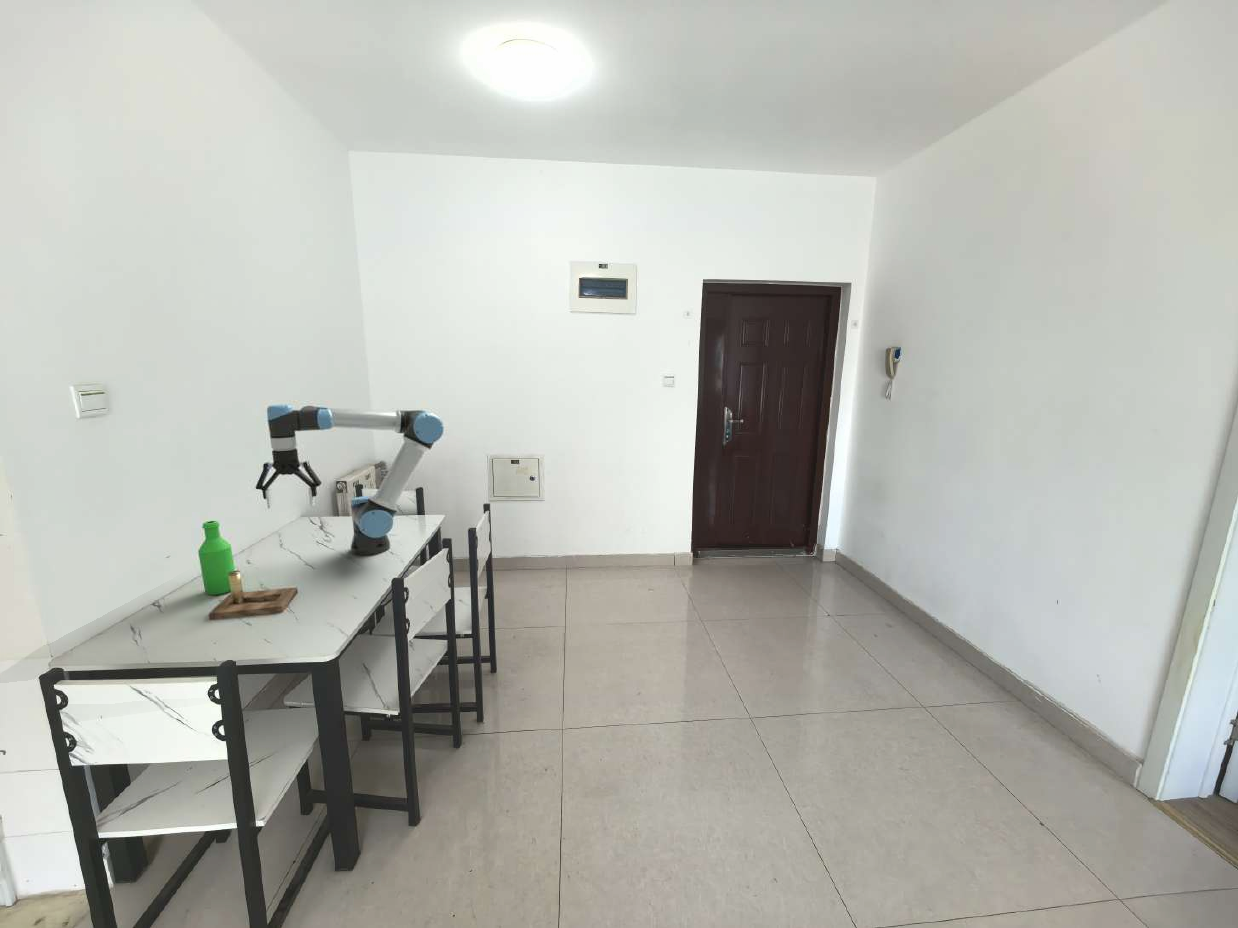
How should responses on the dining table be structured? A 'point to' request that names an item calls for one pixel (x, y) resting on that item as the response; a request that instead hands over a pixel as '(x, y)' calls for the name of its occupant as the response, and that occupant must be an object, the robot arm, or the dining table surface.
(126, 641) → the dining table surface
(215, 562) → the bottle
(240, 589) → the peg
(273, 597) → the keyhole board
